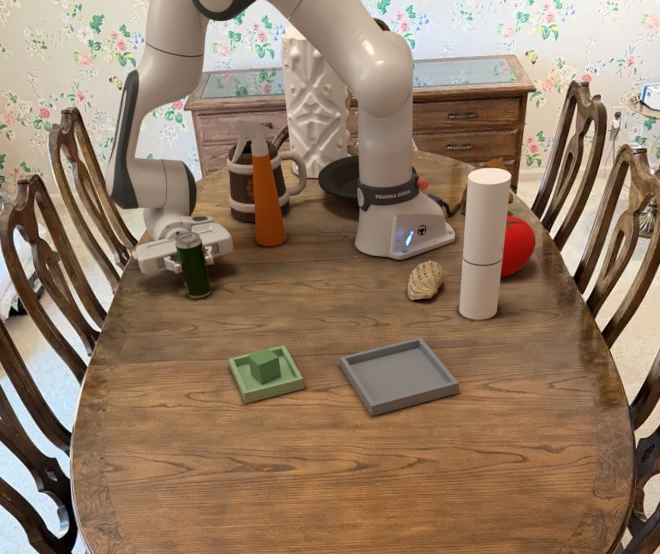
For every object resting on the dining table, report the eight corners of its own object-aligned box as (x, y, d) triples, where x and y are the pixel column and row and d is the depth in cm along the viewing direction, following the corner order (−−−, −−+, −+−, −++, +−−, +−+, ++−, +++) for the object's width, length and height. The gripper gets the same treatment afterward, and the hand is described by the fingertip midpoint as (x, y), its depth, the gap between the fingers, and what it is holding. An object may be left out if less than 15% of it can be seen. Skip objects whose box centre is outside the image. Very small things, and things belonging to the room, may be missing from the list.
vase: (284, 180, 192) (269, 39, 169) (296, 157, 203) (283, 22, 180) (347, 179, 189) (340, 36, 166) (356, 156, 200) (350, 19, 177)
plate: (428, 214, 171) (429, 190, 167) (329, 228, 169) (328, 204, 165) (401, 171, 190) (401, 149, 186) (312, 183, 189) (310, 161, 185)
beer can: (193, 302, 149) (180, 246, 140) (182, 292, 152) (169, 236, 143) (216, 293, 151) (205, 237, 142) (205, 283, 154) (193, 228, 145)
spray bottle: (237, 245, 166) (216, 120, 148) (275, 230, 170) (260, 107, 152) (253, 255, 162) (234, 128, 143) (292, 239, 166) (279, 114, 147)
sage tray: (285, 354, 133) (284, 344, 131) (304, 388, 125) (303, 378, 123) (230, 368, 131) (228, 358, 129) (245, 403, 123) (243, 393, 122)
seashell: (448, 309, 146) (438, 268, 149) (452, 290, 140) (442, 248, 143) (410, 314, 145) (401, 273, 148) (413, 295, 139) (404, 253, 143)
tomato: (465, 285, 146) (468, 235, 139) (460, 256, 155) (463, 207, 148) (536, 282, 145) (544, 232, 137) (527, 253, 154) (534, 204, 146)
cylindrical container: (499, 302, 140) (514, 169, 123) (493, 321, 136) (507, 185, 118) (463, 298, 142) (472, 166, 125) (455, 317, 138) (464, 182, 120)
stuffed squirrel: (484, 233, 162) (489, 172, 152) (446, 213, 171) (449, 154, 161) (519, 221, 165) (526, 161, 155) (480, 202, 174) (484, 143, 164)
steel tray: (420, 346, 132) (420, 336, 130) (458, 393, 121) (459, 382, 119) (340, 367, 129) (339, 357, 127) (371, 416, 118) (371, 406, 117)
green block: (270, 366, 129) (267, 347, 127) (281, 376, 127) (278, 356, 124) (250, 374, 128) (247, 355, 125) (261, 384, 126) (258, 365, 123)
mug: (234, 228, 173) (223, 162, 162) (227, 204, 183) (217, 141, 172) (315, 215, 175) (309, 150, 164) (304, 192, 185) (298, 129, 174)
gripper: (125, 236, 150) (140, 263, 141) (218, 213, 155) (238, 238, 146) (133, 265, 155) (148, 292, 146) (223, 242, 160) (243, 267, 151)
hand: (194, 265), depth 146 cm, fingers closed on beer can, 5 cm apart
